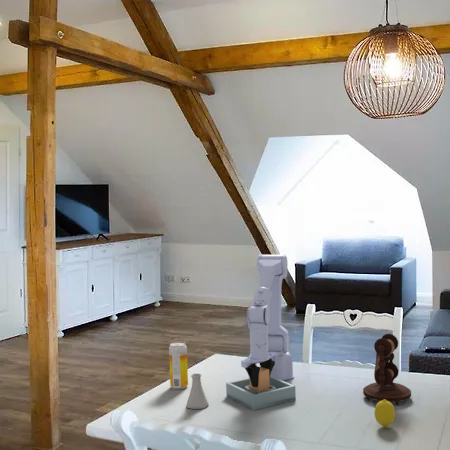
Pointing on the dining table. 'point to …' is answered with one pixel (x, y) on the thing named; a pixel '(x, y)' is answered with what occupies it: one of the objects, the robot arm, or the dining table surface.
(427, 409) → the dining table surface
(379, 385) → the brown tall knobby piece
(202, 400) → the flask
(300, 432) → the dining table surface
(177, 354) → the beer can
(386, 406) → the lemon
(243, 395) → the socket box
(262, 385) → the plug
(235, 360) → the dining table surface
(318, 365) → the dining table surface
